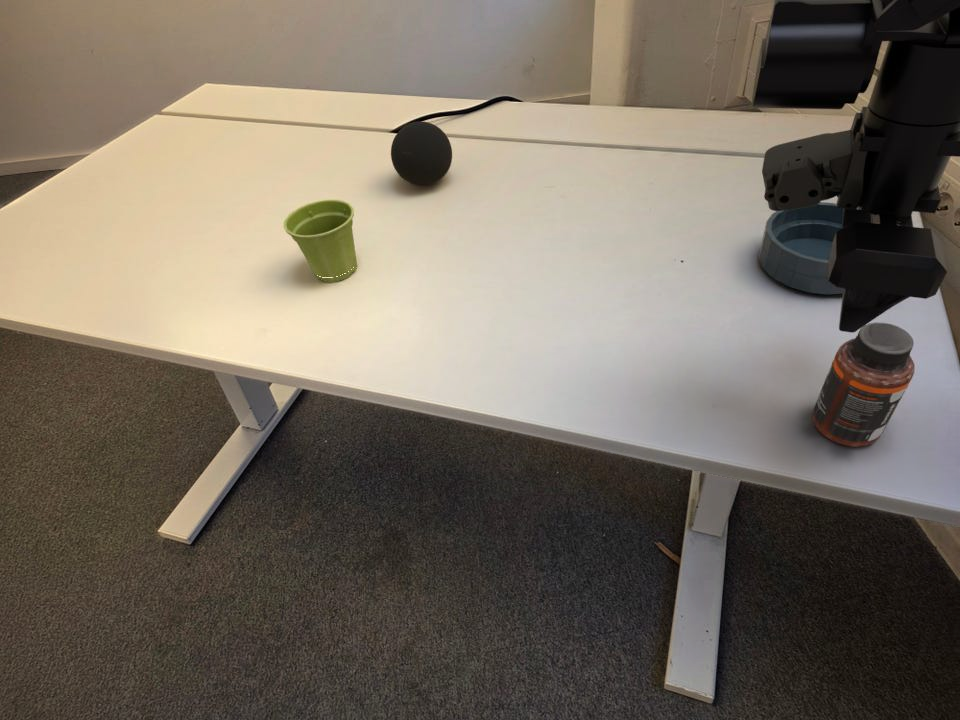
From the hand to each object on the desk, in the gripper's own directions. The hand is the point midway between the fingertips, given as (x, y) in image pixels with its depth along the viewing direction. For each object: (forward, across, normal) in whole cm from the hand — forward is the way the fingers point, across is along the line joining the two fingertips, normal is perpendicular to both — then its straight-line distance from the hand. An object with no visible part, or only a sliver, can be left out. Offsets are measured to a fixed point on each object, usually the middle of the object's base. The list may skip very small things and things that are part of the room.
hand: (845, 295), depth 51 cm
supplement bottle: (+14, +2, +4) cm, 15 cm away
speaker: (+14, -35, -59) cm, 70 cm away
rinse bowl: (+14, -24, 0) cm, 28 cm away
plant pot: (+14, -8, -61) cm, 63 cm away
